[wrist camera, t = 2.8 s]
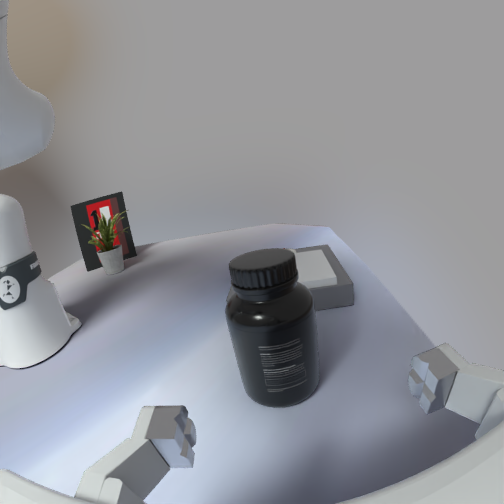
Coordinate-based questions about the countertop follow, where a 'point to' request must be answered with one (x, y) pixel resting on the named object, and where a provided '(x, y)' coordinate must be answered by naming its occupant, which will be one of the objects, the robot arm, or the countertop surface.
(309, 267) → the kitchen scale
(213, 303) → the countertop surface
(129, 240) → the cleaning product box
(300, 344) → the supplement bottle
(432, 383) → the robot arm
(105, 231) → the house plant
